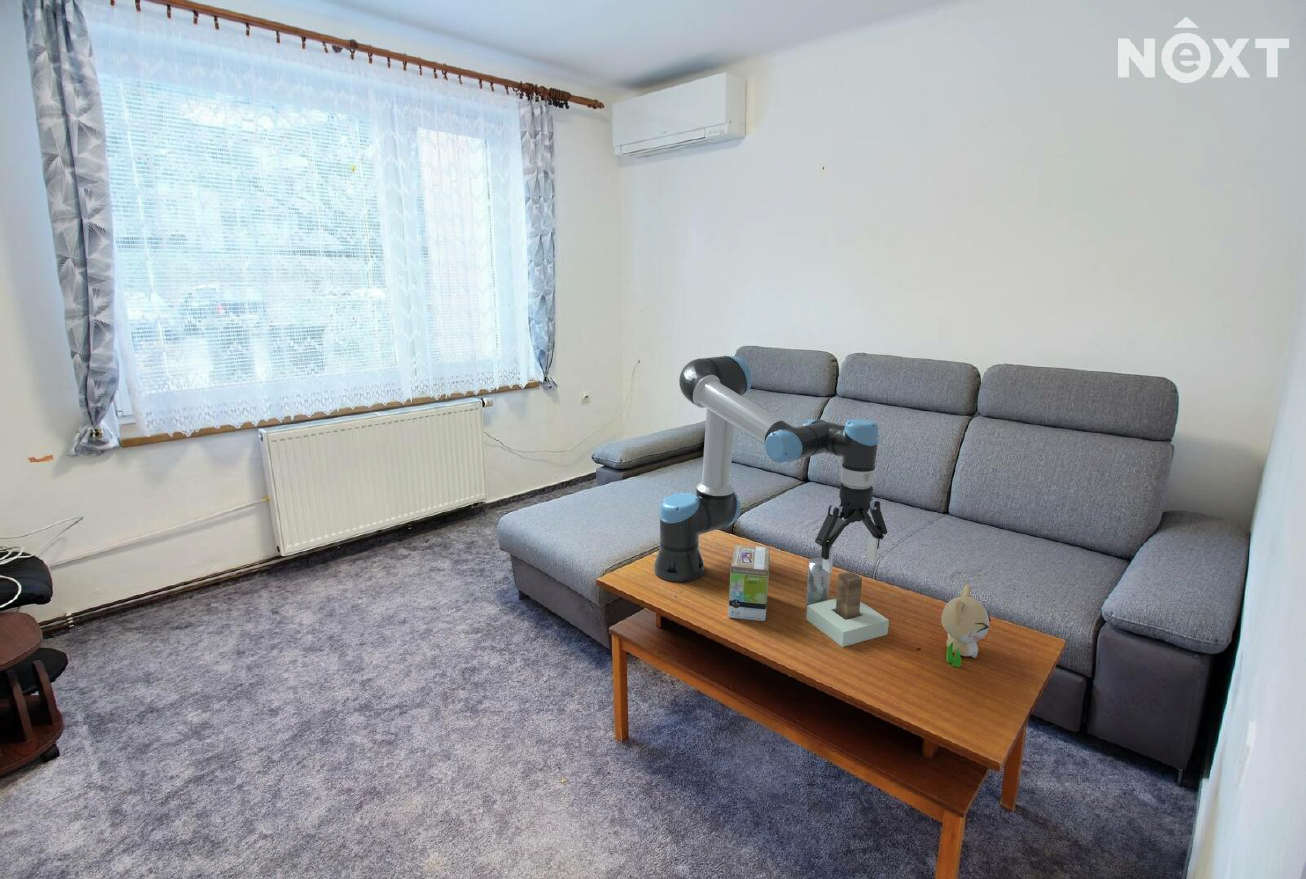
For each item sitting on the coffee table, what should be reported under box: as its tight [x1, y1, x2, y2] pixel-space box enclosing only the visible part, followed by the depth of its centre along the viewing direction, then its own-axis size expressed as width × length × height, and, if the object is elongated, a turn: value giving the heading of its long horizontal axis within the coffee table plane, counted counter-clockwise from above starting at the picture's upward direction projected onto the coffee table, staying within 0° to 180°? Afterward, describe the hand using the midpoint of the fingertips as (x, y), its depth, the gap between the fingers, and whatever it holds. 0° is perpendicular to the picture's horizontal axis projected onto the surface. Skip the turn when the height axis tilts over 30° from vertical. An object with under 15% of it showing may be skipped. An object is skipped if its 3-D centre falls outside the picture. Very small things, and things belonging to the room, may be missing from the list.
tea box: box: [728, 544, 771, 622], centre depth 165 cm, size 15×10×15 cm
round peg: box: [805, 557, 831, 605], centre depth 167 cm, size 6×6×12 cm
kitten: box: [940, 584, 992, 668], centre depth 143 cm, size 15×10×15 cm
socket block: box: [805, 597, 890, 648], centre depth 156 cm, size 14×14×4 cm
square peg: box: [836, 571, 863, 620], centre depth 154 cm, size 4×4×14 cm
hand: (849, 565), depth 153 cm, fingers open, 13 cm apart
